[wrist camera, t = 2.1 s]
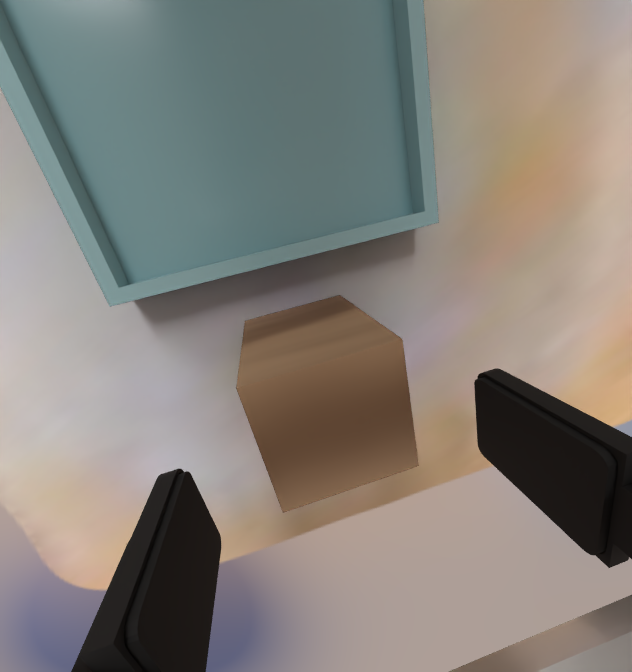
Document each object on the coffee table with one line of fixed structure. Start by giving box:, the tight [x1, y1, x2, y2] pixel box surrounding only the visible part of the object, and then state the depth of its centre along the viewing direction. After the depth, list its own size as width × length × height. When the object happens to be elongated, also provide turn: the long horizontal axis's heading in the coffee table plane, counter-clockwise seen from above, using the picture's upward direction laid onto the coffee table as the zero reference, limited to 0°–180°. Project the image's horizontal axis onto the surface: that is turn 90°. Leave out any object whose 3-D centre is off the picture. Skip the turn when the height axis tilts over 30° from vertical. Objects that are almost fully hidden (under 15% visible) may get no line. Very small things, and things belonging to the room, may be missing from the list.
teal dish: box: [0, 0, 439, 306], centre depth 11 cm, size 14×14×2 cm
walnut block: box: [236, 295, 419, 513], centre depth 13 cm, size 5×5×7 cm
